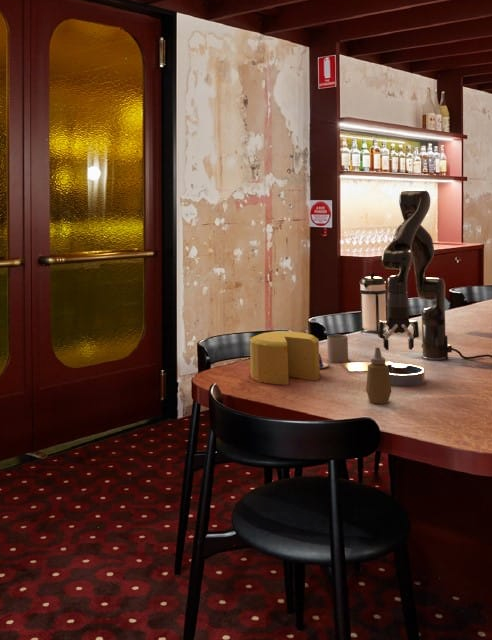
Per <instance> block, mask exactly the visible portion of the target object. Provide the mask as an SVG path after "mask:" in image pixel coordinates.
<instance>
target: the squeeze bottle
mask: <svg viewBox="0 0 492 640" xmlns="http://www.w3.org/2000/svg"><path fill="white" fill-rule="evenodd" d="M370 362H371V364H369V365H368V371H367V372H366V373H367V374H366V385H365V391H366V394H367V398H368V399H369V402H370V403H372V404H377V405H378V404H387V403H388V402H389V401H390V397H391V394H392V385H391V384H390V377H389V369H388V366H387V365H386V364H385V362H386V358H385V357H383V356H382V353H381V348H380V346H375V348H374V353H373V356H371V357H370Z"/></svg>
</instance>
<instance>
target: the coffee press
mask: <svg viewBox="0 0 492 640" xmlns="http://www.w3.org/2000/svg"><path fill="white" fill-rule="evenodd" d="M369 275H370V276H364V277H362V278H360V281H359V285H360V289H359V293H360V328H358V331H359V333H363V332H364V331H366V330H367V331H375V333H376V334H377V335H378V322H379V321H383V322H386V321H387V294H386V293H387V289H386V285H387V281H386V280H385V279H384V278H383V277H382V276H375V275H376V273H375V272H374V271H370V273H369ZM388 328H389V327H388V326H387V325H385V327H384V328H383V330H385V332H386V331H387V329H388ZM361 329H362V330H361Z"/></svg>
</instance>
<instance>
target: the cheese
mask: <svg viewBox="0 0 492 640" xmlns="http://www.w3.org/2000/svg"><path fill="white" fill-rule="evenodd" d="M249 354H250V356H249V357H250V359H249V360H250V377H251V379H253V380H255V381H257V382H259V383H265V384H271V385H289V378H297V379H303V380H311V381H317V380H318V379H320V369H319V354H320V340H319V338H318V337H316V336H315V335H313V334H310V333H307V332H302V331H283V330H281V331H269V332H262V333H259V334H257V335H253V336H252V337H251V338H250V339H249Z"/></svg>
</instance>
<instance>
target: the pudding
mask: <svg viewBox="0 0 492 640" xmlns="http://www.w3.org/2000/svg"><path fill="white" fill-rule="evenodd" d="M327 367H329V364H328V363H326V362H323V359H322V355H321V354H320V353H319V370H321V369H324V368H327Z"/></svg>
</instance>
